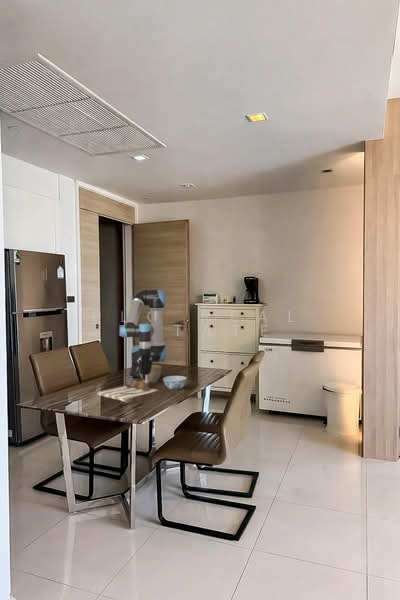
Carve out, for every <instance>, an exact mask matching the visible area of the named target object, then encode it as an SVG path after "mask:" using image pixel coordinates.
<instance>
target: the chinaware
mask: <svg viewBox="0 0 400 600" xmlns="http://www.w3.org/2000/svg"><path fill="white" fill-rule="evenodd" d="M187 379H188V378H187V376H183V375H169V376H168V375H167V376H164V377H163V378H162V380H163V384H164V385H165V387H166V388H167V389H169V390H179V389H180V390H181V389H182V388H183V387H185V384H186V382H187Z"/></svg>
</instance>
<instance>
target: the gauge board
mask: <svg viewBox="0 0 400 600" xmlns="http://www.w3.org/2000/svg"><path fill="white" fill-rule="evenodd" d="M159 391H160V390H159V389H154V388H150V387H149V390H144V389H139V388H134V387H126V385H122V386H118V387H114V388H109V389H105V390H101V391H97V392H96V395H97V396H101V397H105V398H109V399H113V400H117V401H121V402H130V401H133V399H132V398H135V397H136V398H137V397H141V396H143V395H147V394H152V393H154V392H159Z"/></svg>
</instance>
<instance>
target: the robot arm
mask: <svg viewBox="0 0 400 600" xmlns="http://www.w3.org/2000/svg"><path fill="white" fill-rule="evenodd" d="M166 295H167V294H166V291H165V290H163V289H142V290H140V291H138V292H136V294H134V295H133V297H132V298H131V300H130V308H129V311H128V314H127V318H126V321H125V324H124V325H121V326H120V327H119V328H120V329H119V335H120V337H122V338H138V343H139V345H133V346H132V347H131V357H130V358H131V367H130V370H129V374H128V376H129V375H130V376H132V377H141V376H140V374H142V377H143V378H141V380H142V379H143V380H142V381H144V382H148V374H150V373H151V368H152V365H153V363H164V362H166V361H167V357H168V346H166V343H165V342H164V331H163V330H164V328H163V325H164V321H163V320H164V319H163V313H164V312H163V310H164V309H165V306H167V304H168V303H167V302H168V301H167V296H166ZM145 306H146V307H147V306H148V309H149V310H150V323H139V325H138V322H139V319H140V314H141V312H142V308H144V307H145ZM138 367H139V368H138ZM139 372H140V374H139Z"/></svg>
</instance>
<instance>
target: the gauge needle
mask: <svg viewBox="0 0 400 600" xmlns="http://www.w3.org/2000/svg"><path fill="white" fill-rule="evenodd" d="M125 386H126V387H134V388H139V389H144V390H149V388H150V382H144V381H143V380H139V379H137V380H136V379H134V378H133V377H129V376H126V377H125Z"/></svg>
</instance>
